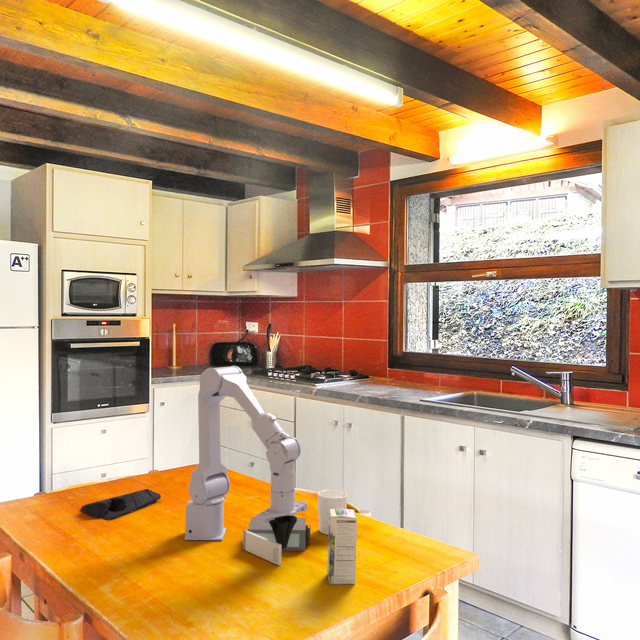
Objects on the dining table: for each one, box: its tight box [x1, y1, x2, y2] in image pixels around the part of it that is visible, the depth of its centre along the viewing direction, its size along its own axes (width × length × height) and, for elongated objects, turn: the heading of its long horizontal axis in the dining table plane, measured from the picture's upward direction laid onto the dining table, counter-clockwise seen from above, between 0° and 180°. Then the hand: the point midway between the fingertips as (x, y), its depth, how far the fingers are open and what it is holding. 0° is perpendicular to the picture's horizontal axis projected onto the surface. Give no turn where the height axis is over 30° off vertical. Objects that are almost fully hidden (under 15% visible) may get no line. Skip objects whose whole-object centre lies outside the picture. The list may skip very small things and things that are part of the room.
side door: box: [242, 529, 282, 566], centre depth 141 cm, size 13×1×5 cm, turn 46°
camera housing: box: [247, 516, 311, 552], centre depth 150 cm, size 15×9×6 cm, turn 91°
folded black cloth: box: [79, 488, 162, 521], centre depth 176 cm, size 15×22×5 cm
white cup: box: [317, 488, 348, 536], centre depth 159 cm, size 8×8×10 cm
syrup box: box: [327, 508, 358, 585], centre depth 130 cm, size 6×6×14 cm
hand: (281, 547), depth 141 cm, fingers closed
